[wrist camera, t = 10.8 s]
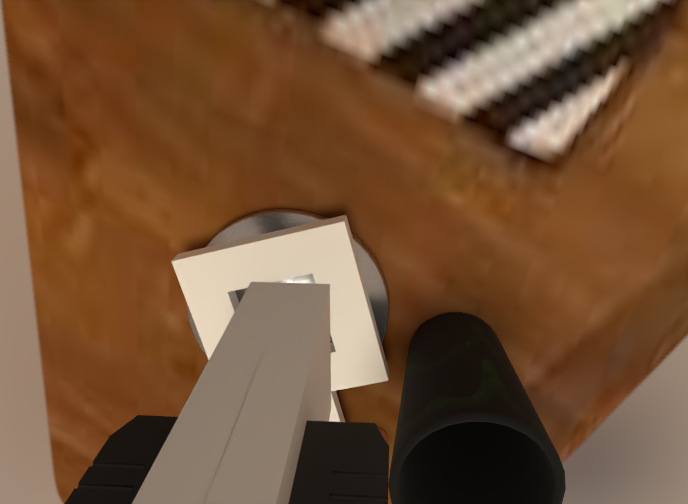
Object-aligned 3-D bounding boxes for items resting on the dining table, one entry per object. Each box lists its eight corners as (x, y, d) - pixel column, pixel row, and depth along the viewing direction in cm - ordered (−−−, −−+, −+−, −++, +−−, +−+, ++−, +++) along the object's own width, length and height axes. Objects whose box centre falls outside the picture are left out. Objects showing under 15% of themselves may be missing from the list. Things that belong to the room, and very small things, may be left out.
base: (152, 299, 40) (87, 376, 32) (284, 165, 36) (250, 213, 28) (293, 422, 42) (267, 524, 34) (430, 308, 39) (439, 391, 30)
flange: (178, 253, 37) (121, 317, 30) (346, 214, 36) (331, 270, 28) (265, 489, 43) (237, 593, 35) (414, 464, 41) (418, 568, 34)
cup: (426, 424, 42) (437, 577, 30) (368, 329, 40) (357, 456, 28) (539, 376, 40) (594, 521, 29) (484, 274, 38) (520, 387, 27)
